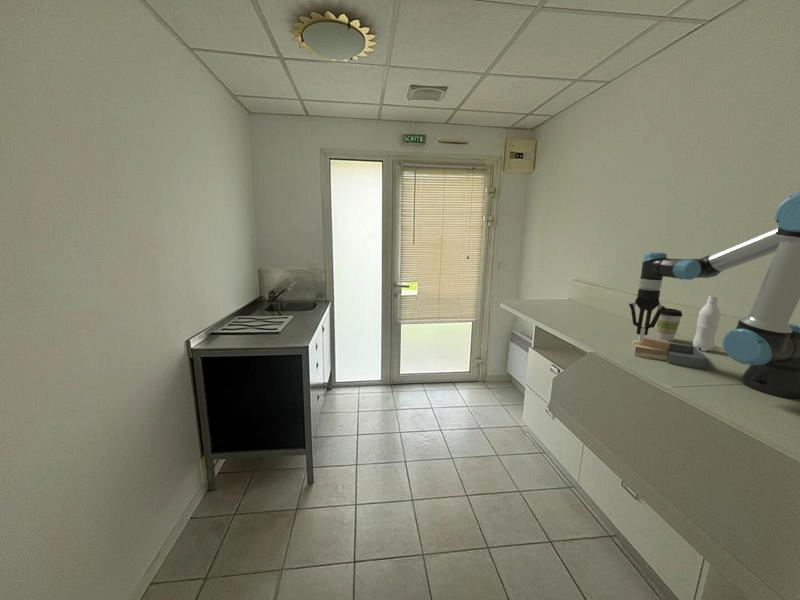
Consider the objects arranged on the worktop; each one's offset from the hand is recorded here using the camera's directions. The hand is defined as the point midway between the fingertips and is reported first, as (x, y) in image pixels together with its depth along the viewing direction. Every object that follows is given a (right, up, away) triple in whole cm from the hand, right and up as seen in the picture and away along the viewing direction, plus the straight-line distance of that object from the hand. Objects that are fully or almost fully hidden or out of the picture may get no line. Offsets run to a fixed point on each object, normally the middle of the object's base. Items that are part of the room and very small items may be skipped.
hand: (640, 341), depth 144 cm
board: (+3, -5, 0) cm, 6 cm away
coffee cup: (+27, -2, +20) cm, 34 cm away
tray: (+13, -7, -6) cm, 16 cm away
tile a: (+3, -1, -1) cm, 3 cm away
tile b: (+7, -2, -3) cm, 8 cm away
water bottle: (+32, -5, +6) cm, 33 cm away
